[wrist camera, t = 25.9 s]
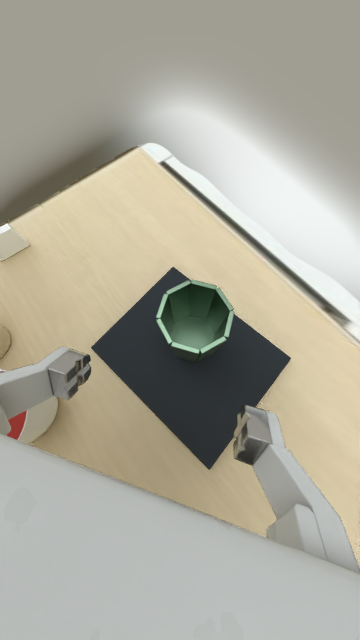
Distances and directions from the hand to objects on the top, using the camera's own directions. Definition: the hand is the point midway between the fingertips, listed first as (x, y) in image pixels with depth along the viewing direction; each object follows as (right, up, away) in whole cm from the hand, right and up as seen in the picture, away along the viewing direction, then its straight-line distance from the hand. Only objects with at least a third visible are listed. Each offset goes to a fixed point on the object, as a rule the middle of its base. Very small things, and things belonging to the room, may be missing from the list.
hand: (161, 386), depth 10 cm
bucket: (+3, +5, +12) cm, 13 cm away
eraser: (-26, +15, +21) cm, 36 cm away
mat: (+2, -1, +15) cm, 15 cm away
